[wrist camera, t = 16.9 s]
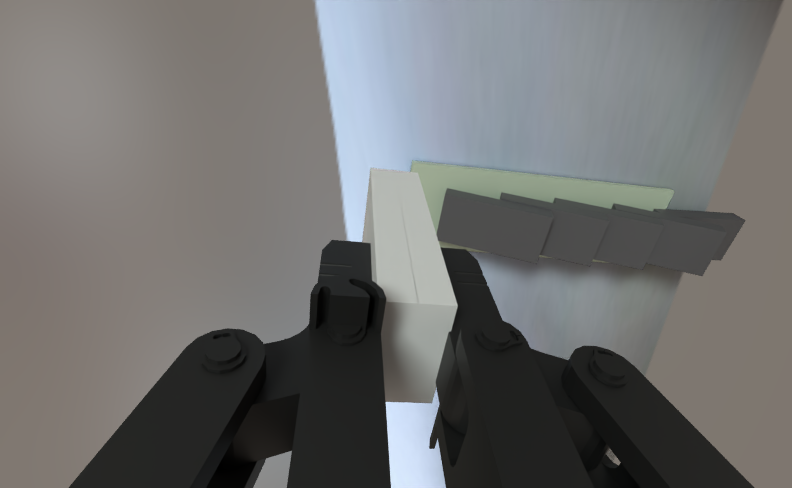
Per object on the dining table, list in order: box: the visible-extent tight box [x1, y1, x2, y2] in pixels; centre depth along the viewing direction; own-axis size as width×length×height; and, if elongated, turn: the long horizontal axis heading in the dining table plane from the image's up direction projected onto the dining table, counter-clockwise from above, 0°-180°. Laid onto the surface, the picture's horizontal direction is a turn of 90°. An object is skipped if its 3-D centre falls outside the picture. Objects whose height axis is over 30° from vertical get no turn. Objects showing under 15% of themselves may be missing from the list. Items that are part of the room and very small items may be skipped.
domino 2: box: [500, 192, 609, 266], centre depth 43 cm, size 5×2×10 cm
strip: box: [410, 160, 675, 263], centre depth 45 cm, size 9×27×1 cm, turn 82°
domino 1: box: [436, 188, 553, 264], centre depth 42 cm, size 5×2×10 cm
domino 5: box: [653, 209, 745, 260], centre depth 46 cm, size 5×2×10 cm
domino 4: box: [611, 203, 727, 276], centre depth 44 cm, size 5×2×10 cm
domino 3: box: [553, 198, 664, 270], centre depth 43 cm, size 5×2×10 cm
